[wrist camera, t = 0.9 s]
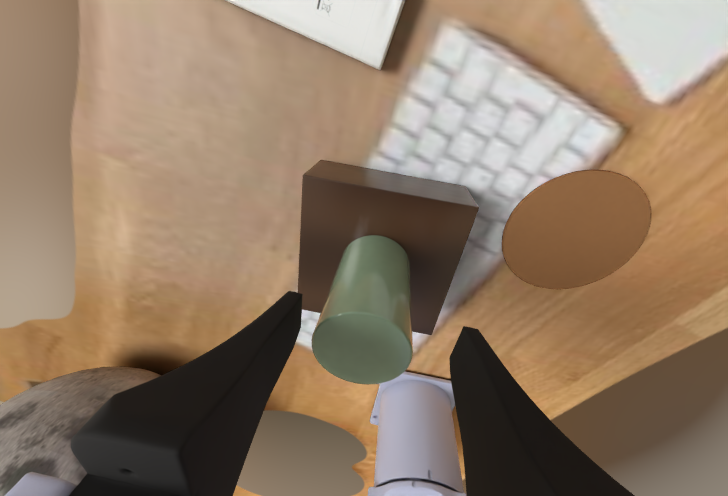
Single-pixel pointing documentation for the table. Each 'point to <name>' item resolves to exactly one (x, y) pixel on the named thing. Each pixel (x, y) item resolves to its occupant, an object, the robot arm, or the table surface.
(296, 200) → the table surface
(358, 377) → the sage green cylinder
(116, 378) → the moon model
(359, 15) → the hard drive
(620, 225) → the coaster
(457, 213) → the stand
